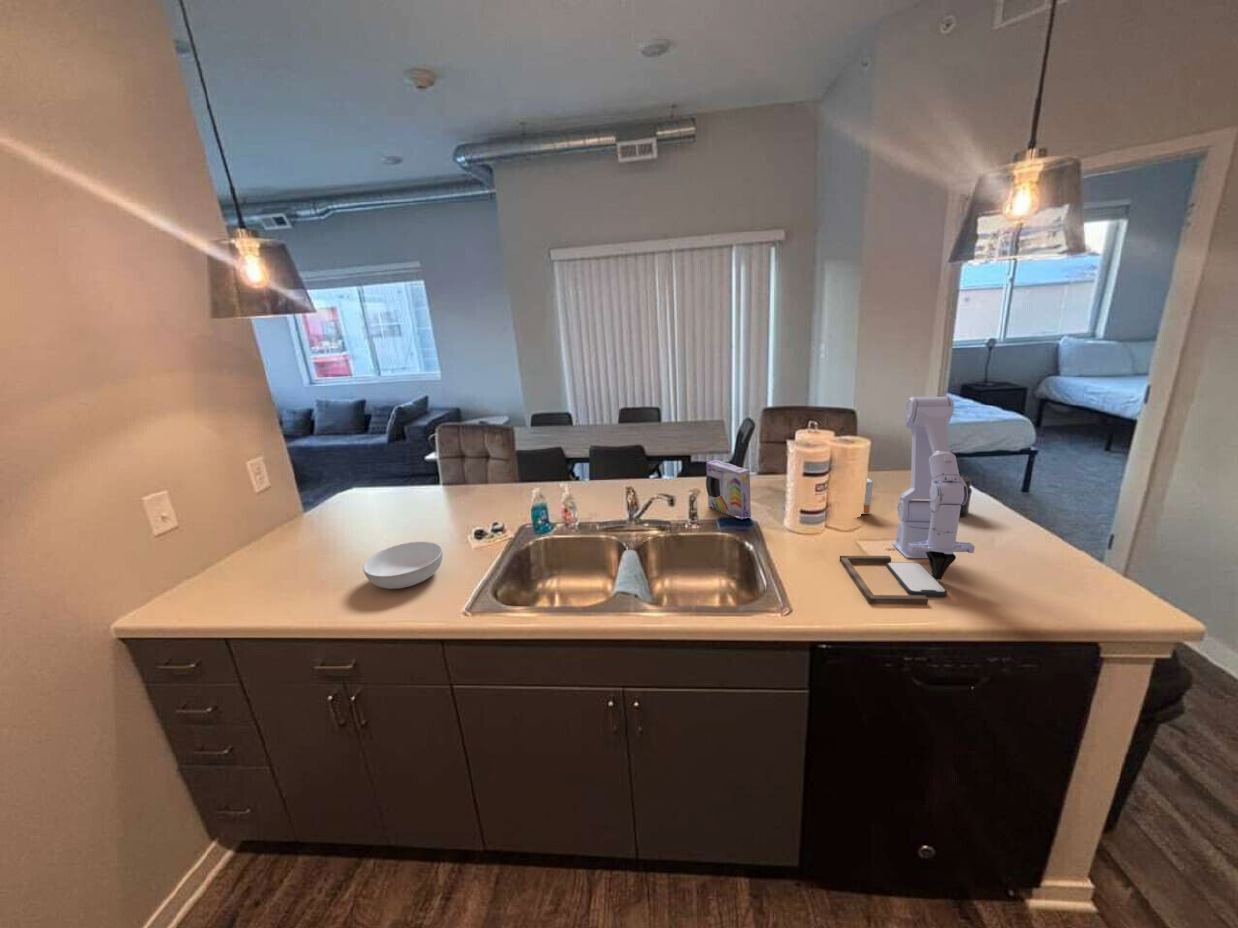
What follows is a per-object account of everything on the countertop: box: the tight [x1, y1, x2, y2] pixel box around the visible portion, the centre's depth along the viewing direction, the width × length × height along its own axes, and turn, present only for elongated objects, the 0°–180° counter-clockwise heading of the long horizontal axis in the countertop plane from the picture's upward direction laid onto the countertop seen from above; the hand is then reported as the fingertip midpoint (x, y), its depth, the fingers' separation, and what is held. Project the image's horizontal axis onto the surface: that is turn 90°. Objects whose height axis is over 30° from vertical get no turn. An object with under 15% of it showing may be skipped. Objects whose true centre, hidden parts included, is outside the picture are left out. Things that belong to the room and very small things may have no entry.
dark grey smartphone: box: [886, 561, 948, 598], centre depth 126 cm, size 9×2×16 cm
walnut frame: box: [838, 555, 929, 606], centre depth 127 cm, size 22×13×2 cm, turn 174°
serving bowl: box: [362, 541, 443, 590], centre depth 141 cm, size 21×21×7 cm
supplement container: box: [959, 474, 973, 518], centre depth 165 cm, size 10×10×12 cm
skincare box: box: [864, 477, 874, 515], centre depth 168 cm, size 6×4×12 cm
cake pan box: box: [705, 459, 752, 517], centre depth 174 cm, size 19×5×18 cm, turn 28°
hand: (936, 577), depth 125 cm, fingers closed
